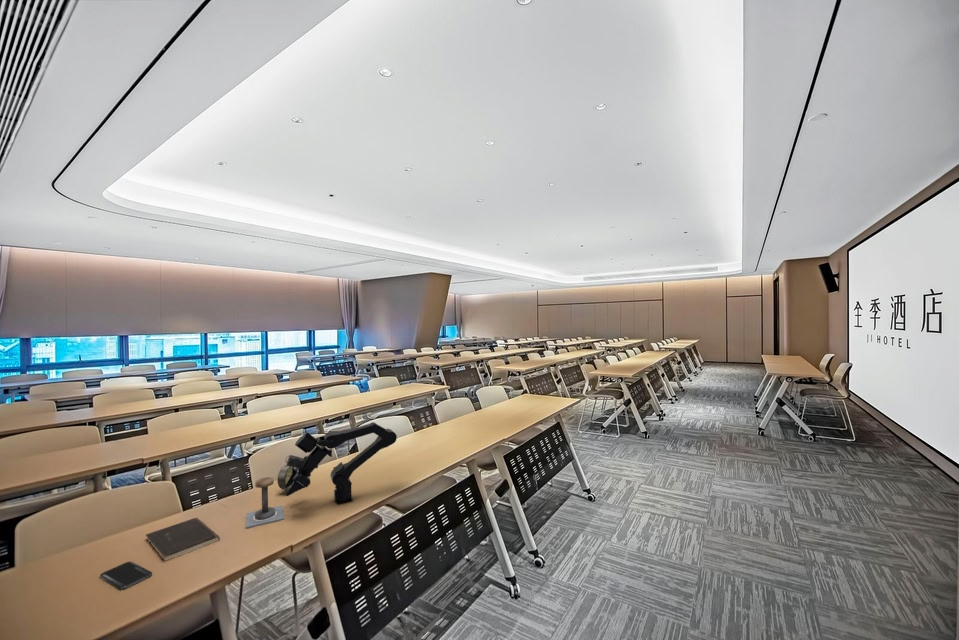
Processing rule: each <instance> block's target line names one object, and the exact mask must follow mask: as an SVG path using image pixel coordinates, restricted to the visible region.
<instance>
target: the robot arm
mask: <svg viewBox="0 0 959 640" xmlns="http://www.w3.org/2000/svg"><path fill="white" fill-rule="evenodd" d="M371 434H375V435H376V436H377V437H376V438H375V439H374V441H373V442H372V443H371V444H370V445H368V446H367V447H366V448H364V449H363V450H361V452H360V453H358V454H357V455H356V456H355V457H353V458H352V459H350V460H349V461H348V462H346V463H343V462H342V461H341V462H340V463H338V464H337V465H336V466H334V467H333V469H332V470H331V472H330V475H329V476H330V479H331V482H332V483H333V485H334V488H335V489H334V490H333V500H334V502H335V503H336V504H337V505H340V504H345V503H349V502H352V501H354V500H353V498H352V497H353V496H352V485H353V483H352V481H351V479H350V478H351V476H352V475H353V473H354V472H355V471H356V470H357V469H358V468H359V467H361V466H362V465H363V464H364V463H366V462H367V461H368V460H369V459H371V457H373V456H374V455H376V454H377V453H378V452H380V451H381V450H384V449H385V448H389V447H390V446H392V445H394V444H395V443H396V442H397V439H398V437H397V433H395V432H394V431H393V430H392V429H391V428H385V427H382V425H379V424H377V422H374V421H373V422H370V423H367V424H363V425H360V426H357V427H353V428H350V429H347V430H340V431H339V430H336V431H334V430H333V431H328V432H326V433H325V434H323V435H322V436H318V437H315V436H314V435H312V434H311V433H310V432H309V431H306V432H305V433H303V435H302V436H300V437H299V438H298V439H297V441H296V442H295V444H294V446H295V447H297V448H298V449H300V450H301V451H302V452H304V453H305V454H307V453H309V454H308V455H305V456H304V457H300V456H296V455H292V454H290V455H288V457H287V460H286V462H287V463H286V465H288V466H293V467H294V468H293V467H292V474H291V476H290V478H289V480H288V481H287V483H286V485H285V487H286V488H288V487H289V486H291V487H290V488H289V490H287V491H286V493H285V495H284V496H286V497H289V496H291V495H293V494H294V493H297V492H299V491H300V490H302V489H306V488H308V487H309V486H310V485H311V478H310V477H311V476H312V473H313V471H314V470H315V469H318V468H319V465H320V463H321V462H322V461H323V460H324V459H325V458H326V457H327V456H329V457H330V458H332V457H333V454H332V453H333V450H332V449H334V448H336V447H339V446H341V445H343V444H344V443H345V442H348V441H350V440H355V439H357V438H361V437H364V436H367V435H371Z"/></svg>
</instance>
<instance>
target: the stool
mask: <svg viewBox="0 0 959 640" xmlns="http://www.w3.org/2000/svg"><path fill="white" fill-rule="evenodd" d="M274 482H275V481H274V477H270V476H269V477H262V478H259V479H257V480H255V483H254V484H255V488H258V489H261V508H260V509H258V510H255V511H256V512H255V519H256V520H265V519H268V518H271V517H273V516H274V515H275V508H272V507H271V506H270V507H269V489H268V488H269V487H270V486H272V485H274Z"/></svg>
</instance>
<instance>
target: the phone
mask: <svg viewBox="0 0 959 640" xmlns="http://www.w3.org/2000/svg"><path fill="white" fill-rule="evenodd" d="M152 576H153V572H152V571H150V570H148V569H146V568H145V567H142V566H141V565H139V564H137V563H135V562H133V561H126V562H124V563H121V564H120V565H117V566H115V567H112V568H111V569H108V570H106V571H103V572H102V573H100V575H99V577H100V579H101V578H102V579H101V580H103V581H105V582H106V583H108V584H110V585H111V586H113V587H114V588H116V589H118V590H120V591H124V590H126V589H129V588H131V587H133V586H135V585H137V584H139V583H141V582H143V581H146V580H147V579H150V578H151V577H152Z"/></svg>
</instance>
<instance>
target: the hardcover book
mask: <svg viewBox="0 0 959 640" xmlns="http://www.w3.org/2000/svg"><path fill="white" fill-rule="evenodd" d="M145 536H146V537H147V540H148V541H149V543H150V542H151V543H150V544H151V545H152V547H153V548H154V547H155V548H154V549H155V550H156V551H157V552H159V553H158V554H159V555H160V556H161V558H162V559H163V558H164V559H163V560H164V561H165V562H167V561H169V560H168V559H170V560H172V559H175V558H177V557H180V556H182V555H185V554H187V553H190V552H193V551H196V550H197V549H200V548H203V547H206V546H207V544H208V545H211V544H212V542H213V543H215V541H216V542H218V541H220V538H221V537H220V536H219V535H218V534H217V533H215V531H214V530H212V529H211V528H210V527H209V526H208V525H207V524H205V523H204V522H203V521H201V519H200V518H198V517H193V518H191V519H188V520H185V521H182V522H179V523H175V524H173V525H170V526H167V527H164V528H162V529H158V530H155V531H153V532H149V533H146V534H145ZM217 540H218V541H217ZM210 543H211V544H210ZM205 545H206V546H205ZM179 555H180V556H179ZM176 556H177V557H176ZM174 557H175V558H174ZM171 558H172V559H171ZM166 560H167V561H166Z"/></svg>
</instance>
